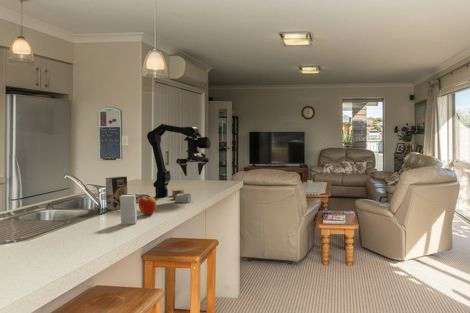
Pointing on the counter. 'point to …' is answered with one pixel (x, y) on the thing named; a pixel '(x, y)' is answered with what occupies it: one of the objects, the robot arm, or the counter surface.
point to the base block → (183, 198)
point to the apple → (147, 205)
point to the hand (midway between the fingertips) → (192, 175)
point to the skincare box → (128, 209)
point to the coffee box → (115, 191)
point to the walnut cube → (177, 192)
